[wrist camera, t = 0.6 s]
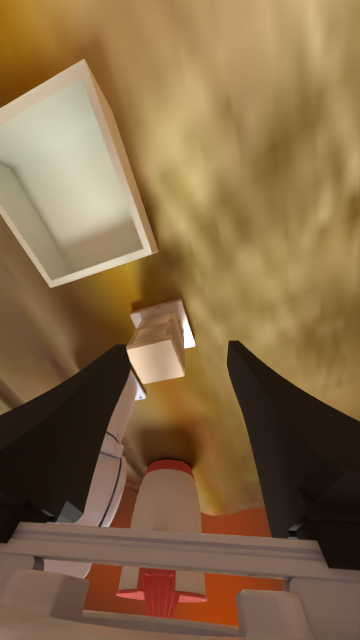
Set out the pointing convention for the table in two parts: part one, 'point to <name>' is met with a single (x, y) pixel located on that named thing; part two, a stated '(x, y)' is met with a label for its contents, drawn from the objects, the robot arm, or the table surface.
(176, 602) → the citrus juicer
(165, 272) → the table surface
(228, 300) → the table surface
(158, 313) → the stud plate
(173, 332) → the socket block
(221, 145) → the table surface
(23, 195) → the bin
